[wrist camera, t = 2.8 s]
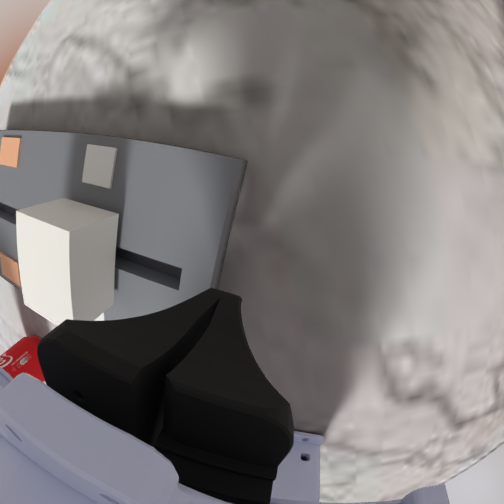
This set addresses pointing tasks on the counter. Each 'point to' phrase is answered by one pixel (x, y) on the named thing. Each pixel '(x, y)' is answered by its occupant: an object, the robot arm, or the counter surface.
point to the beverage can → (23, 358)
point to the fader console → (128, 208)
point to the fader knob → (67, 259)
